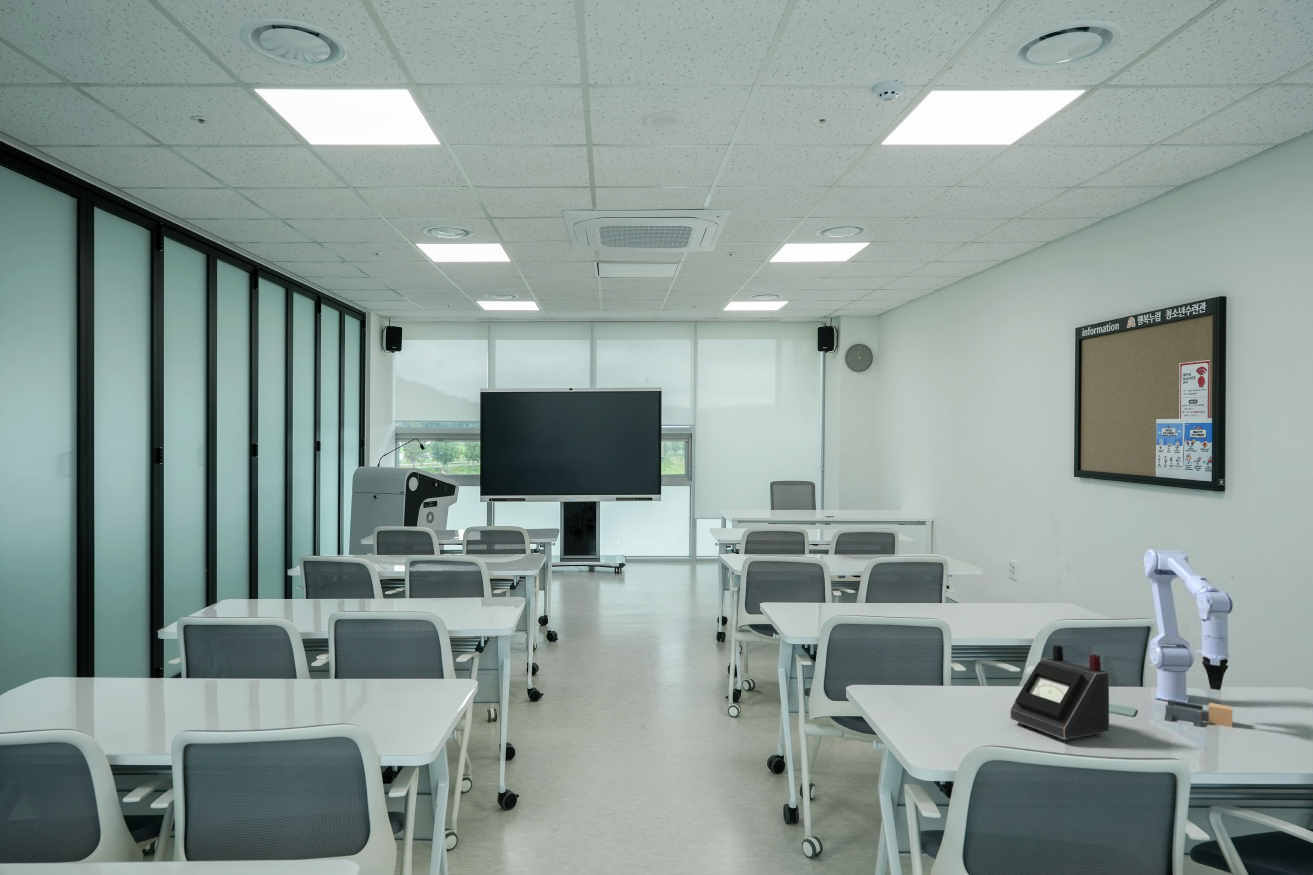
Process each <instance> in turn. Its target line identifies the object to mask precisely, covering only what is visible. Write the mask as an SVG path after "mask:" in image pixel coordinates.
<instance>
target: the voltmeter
mask: <svg viewBox="0 0 1313 875" xmlns="http://www.w3.org/2000/svg"><path fill="white" fill-rule="evenodd" d="M1063 651H1064V647H1063V646H1062V645H1060V644H1058V645H1057V644H1053V646H1052V657H1044V658H1040V659H1039V661H1038V662H1037V664H1036V665H1035V669H1034V670H1033V672H1032V674H1031V675H1030V677H1028V678H1027V680H1026V681H1025V684H1024V685H1023V687H1022V688H1021V689H1020V691H1019V694H1018V695H1017V697H1016V699H1015V700H1014V702H1013V704H1012V706H1011V708H1010V709H1009V711H1010V714H1009V716H1010V717H1009V718H1010V719H1011V720H1013V721H1015V722H1017V724H1018V726H1019V727H1022V728H1027V727H1028V726H1029V727H1031V728H1034V729H1037V730H1039V731H1042V732H1044V733H1047V734H1050V735H1052V736H1055V737H1057V740H1058V741H1059V742H1060V743H1068V739H1073V738H1074V739H1075V738H1079V737H1085V736H1092V737H1101V734H1102V733H1106V732H1107V733H1108V732H1110V713H1109V704H1110V677H1109V676H1110V673H1109V672H1110V671H1106V670H1102V668H1101V666H1102V664H1101V655H1099V654H1092V653H1090V654H1089V661H1088V662H1089V666H1087V665H1084V664H1079V663H1076V662H1072V661H1069V660H1066V659H1064V652H1063Z"/></svg>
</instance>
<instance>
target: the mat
mask: <svg viewBox="0 0 1313 875" xmlns="http://www.w3.org/2000/svg"><path fill="white" fill-rule="evenodd" d="M1136 712H1137V708H1136V707H1130V706H1125V705H1121V704H1120V705H1119V704H1112V703H1109V714H1115V715H1119V716H1126V717H1132V718H1133V717H1135V715H1136Z"/></svg>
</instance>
